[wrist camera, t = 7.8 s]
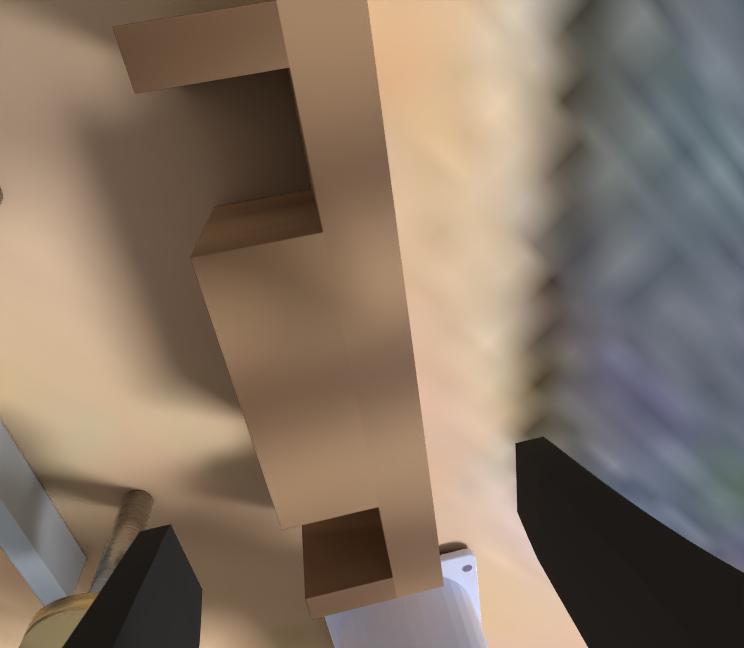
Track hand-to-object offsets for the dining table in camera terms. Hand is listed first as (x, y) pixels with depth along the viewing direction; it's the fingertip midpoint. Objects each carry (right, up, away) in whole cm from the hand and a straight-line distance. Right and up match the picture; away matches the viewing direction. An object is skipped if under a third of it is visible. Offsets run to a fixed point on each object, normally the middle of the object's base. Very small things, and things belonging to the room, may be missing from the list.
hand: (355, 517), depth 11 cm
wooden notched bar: (-2, +4, +8) cm, 9 cm away
